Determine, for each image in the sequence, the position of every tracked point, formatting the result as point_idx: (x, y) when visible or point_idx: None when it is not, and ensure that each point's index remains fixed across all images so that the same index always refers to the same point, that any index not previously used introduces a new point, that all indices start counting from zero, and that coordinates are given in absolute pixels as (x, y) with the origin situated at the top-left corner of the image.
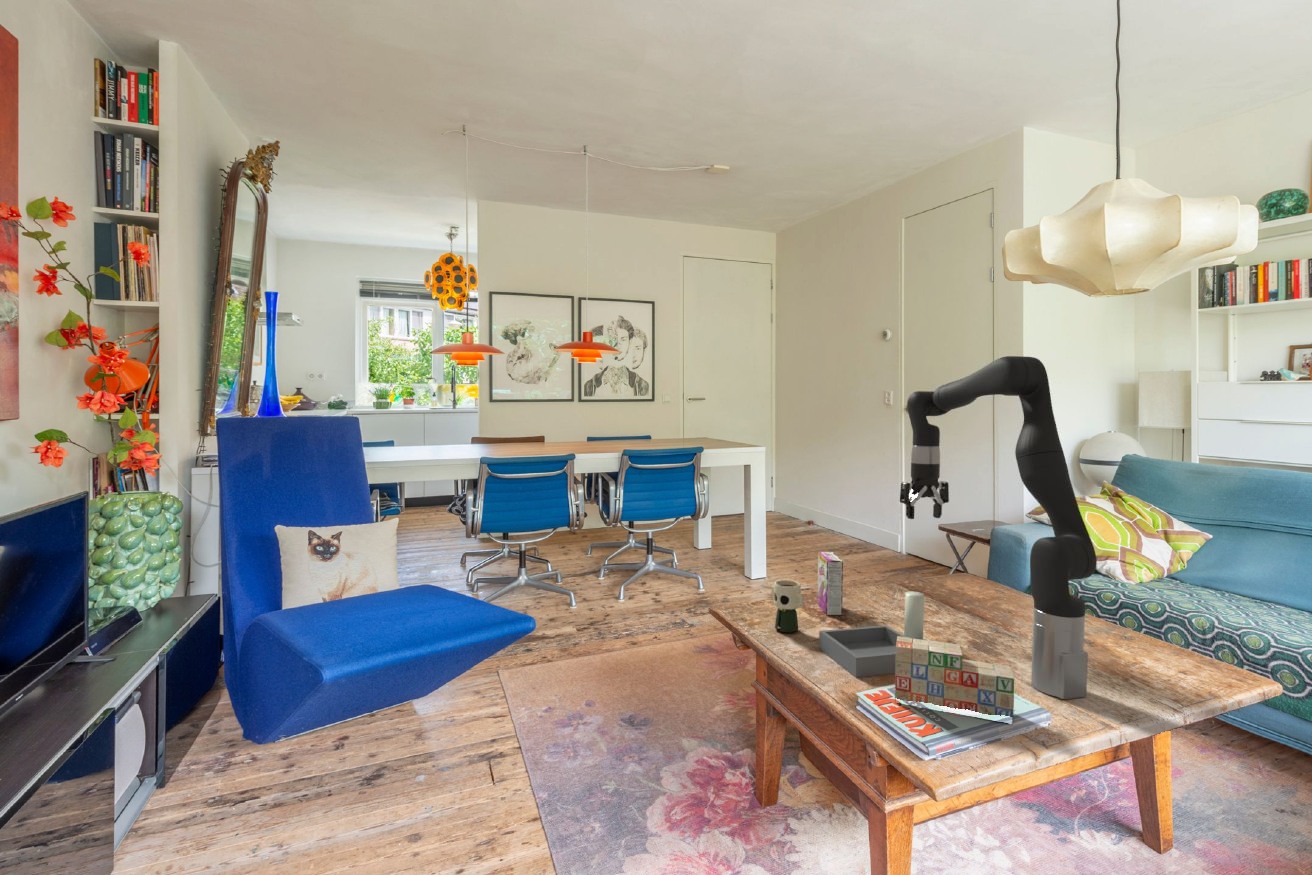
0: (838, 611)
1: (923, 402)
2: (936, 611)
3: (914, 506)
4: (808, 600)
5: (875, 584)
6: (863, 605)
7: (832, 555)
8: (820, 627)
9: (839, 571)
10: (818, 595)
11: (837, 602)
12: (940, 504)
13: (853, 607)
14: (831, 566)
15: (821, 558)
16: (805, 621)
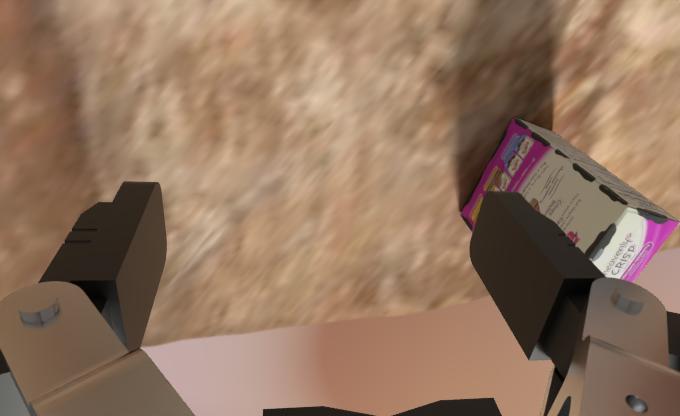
0: (530, 124)
1: None
2: (170, 70)
3: (563, 276)
4: None
5: (209, 334)
6: (380, 183)
7: None
8: (651, 43)
9: (612, 186)
10: None
11: (548, 137)
12: (73, 288)
13: (423, 174)
14: (651, 205)
15: None
16: (645, 102)
